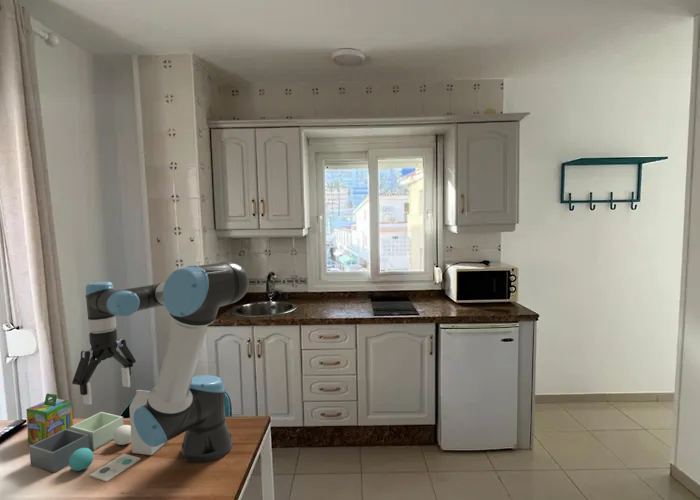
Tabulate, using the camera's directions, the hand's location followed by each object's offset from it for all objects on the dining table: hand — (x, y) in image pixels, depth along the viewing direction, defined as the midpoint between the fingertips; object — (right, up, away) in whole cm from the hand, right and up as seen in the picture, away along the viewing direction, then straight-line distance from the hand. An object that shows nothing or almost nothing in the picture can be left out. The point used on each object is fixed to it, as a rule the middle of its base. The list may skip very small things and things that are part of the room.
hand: (108, 394), depth 129 cm
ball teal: (-1, -18, -12) cm, 21 cm away
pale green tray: (-6, -16, +4) cm, 18 cm away
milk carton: (+14, -17, -2) cm, 22 cm away
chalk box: (-23, -17, +6) cm, 29 cm away
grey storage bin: (-10, -17, -7) cm, 21 cm away
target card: (+9, -17, -11) cm, 23 cm away
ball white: (+5, -17, +1) cm, 17 cm away
